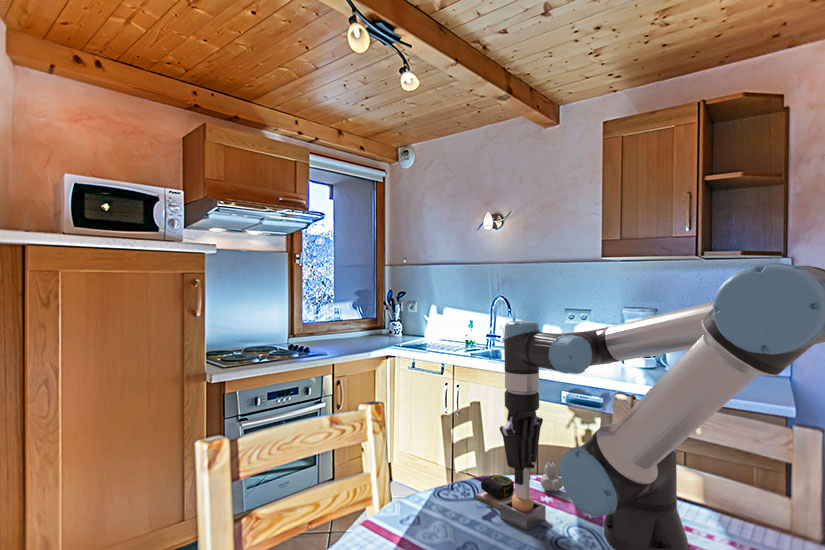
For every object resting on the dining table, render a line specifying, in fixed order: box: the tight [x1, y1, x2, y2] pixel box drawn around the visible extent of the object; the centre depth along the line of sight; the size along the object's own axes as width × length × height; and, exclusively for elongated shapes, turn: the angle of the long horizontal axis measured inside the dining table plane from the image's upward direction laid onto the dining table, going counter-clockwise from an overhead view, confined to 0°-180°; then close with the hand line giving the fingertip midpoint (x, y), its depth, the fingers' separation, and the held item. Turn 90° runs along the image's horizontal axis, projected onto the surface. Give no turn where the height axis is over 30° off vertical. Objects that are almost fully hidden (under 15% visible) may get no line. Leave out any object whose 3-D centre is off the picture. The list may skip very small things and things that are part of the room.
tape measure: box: [480, 474, 515, 500], centre depth 112 cm, size 7×7×4 cm
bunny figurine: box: [540, 458, 563, 492], centre depth 116 cm, size 5×7×8 cm
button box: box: [499, 499, 547, 531], centre depth 102 cm, size 7×7×3 cm
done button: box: [512, 495, 534, 514], centre depth 102 cm, size 5×5×3 cm
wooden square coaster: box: [474, 490, 515, 510], centre depth 112 cm, size 9×9×1 cm
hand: (522, 497), depth 102 cm, fingers closed
